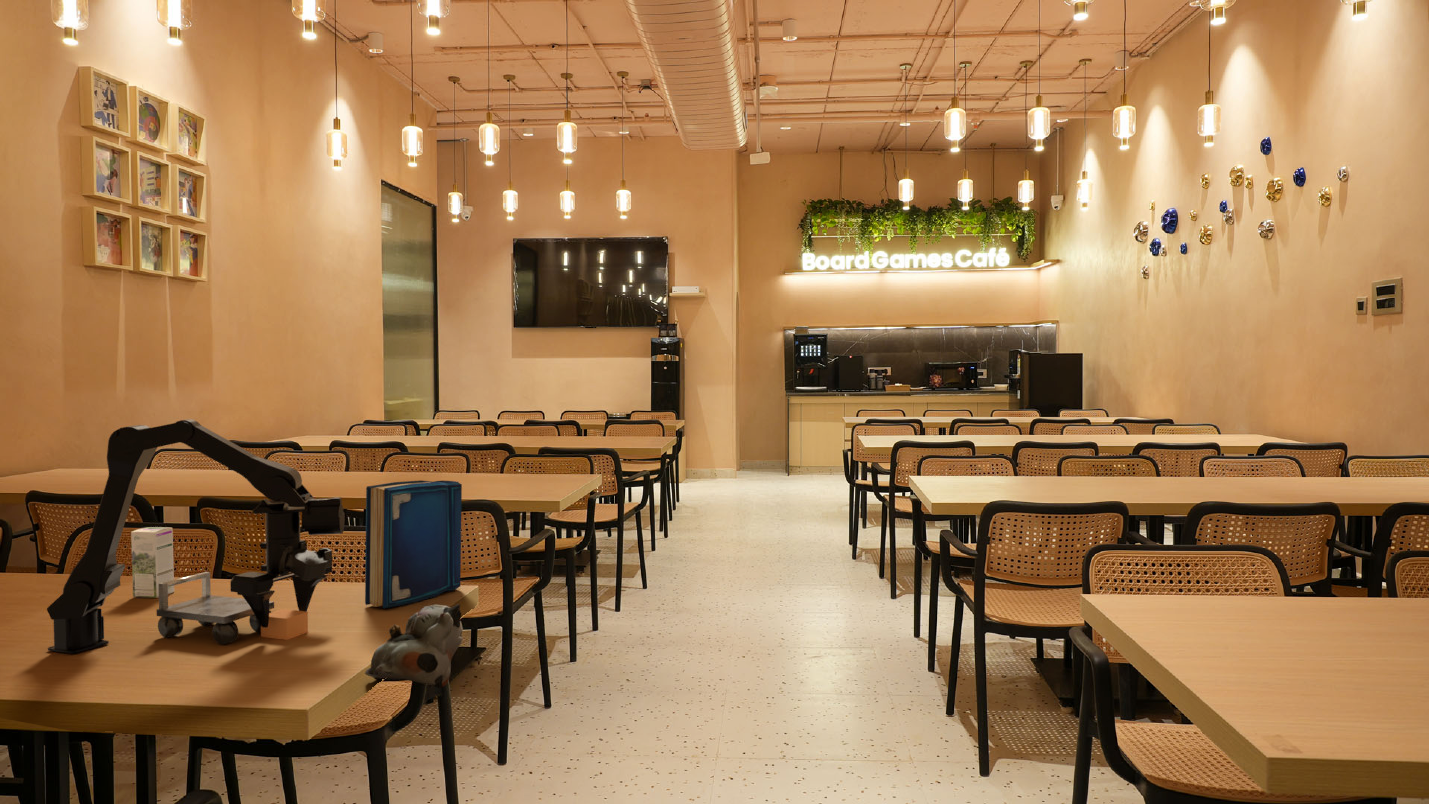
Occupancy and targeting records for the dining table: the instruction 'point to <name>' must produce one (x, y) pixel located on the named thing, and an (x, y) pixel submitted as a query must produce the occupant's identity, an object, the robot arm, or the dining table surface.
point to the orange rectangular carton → (286, 624)
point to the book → (412, 541)
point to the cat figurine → (421, 647)
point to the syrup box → (151, 560)
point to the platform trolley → (204, 611)
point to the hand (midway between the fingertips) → (284, 620)
